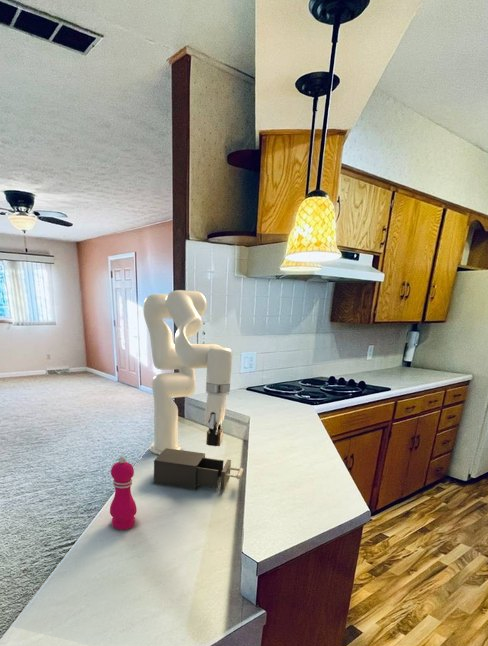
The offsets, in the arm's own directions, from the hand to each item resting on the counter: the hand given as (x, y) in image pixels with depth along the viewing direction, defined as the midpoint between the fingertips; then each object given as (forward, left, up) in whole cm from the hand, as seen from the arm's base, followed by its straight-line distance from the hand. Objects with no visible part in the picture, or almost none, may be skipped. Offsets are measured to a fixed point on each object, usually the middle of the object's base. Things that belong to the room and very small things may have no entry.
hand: (214, 442), depth 135 cm
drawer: (0, +1, -14) cm, 14 cm away
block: (0, 0, 0) cm, 0 cm away
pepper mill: (+34, -18, -16) cm, 41 cm away
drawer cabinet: (0, -12, -15) cm, 19 cm away
